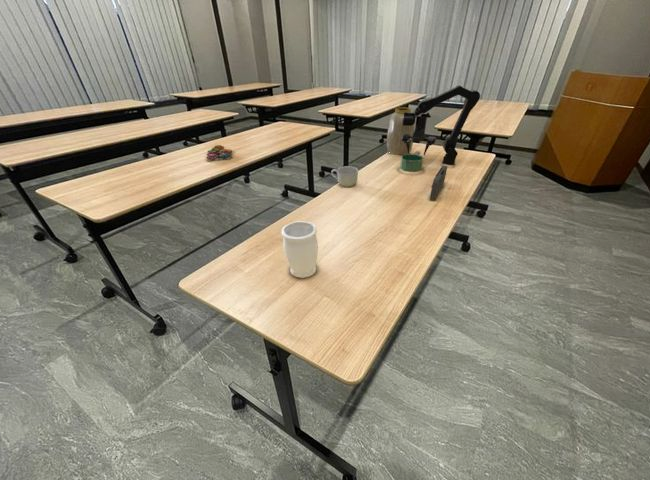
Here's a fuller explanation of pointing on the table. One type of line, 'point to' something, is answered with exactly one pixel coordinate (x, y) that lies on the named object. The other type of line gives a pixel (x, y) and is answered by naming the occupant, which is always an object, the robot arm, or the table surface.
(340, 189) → the table surface
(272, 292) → the table surface
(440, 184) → the handheld gaming console
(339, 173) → the teacup
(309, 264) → the jar
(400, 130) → the vase
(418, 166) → the pot
